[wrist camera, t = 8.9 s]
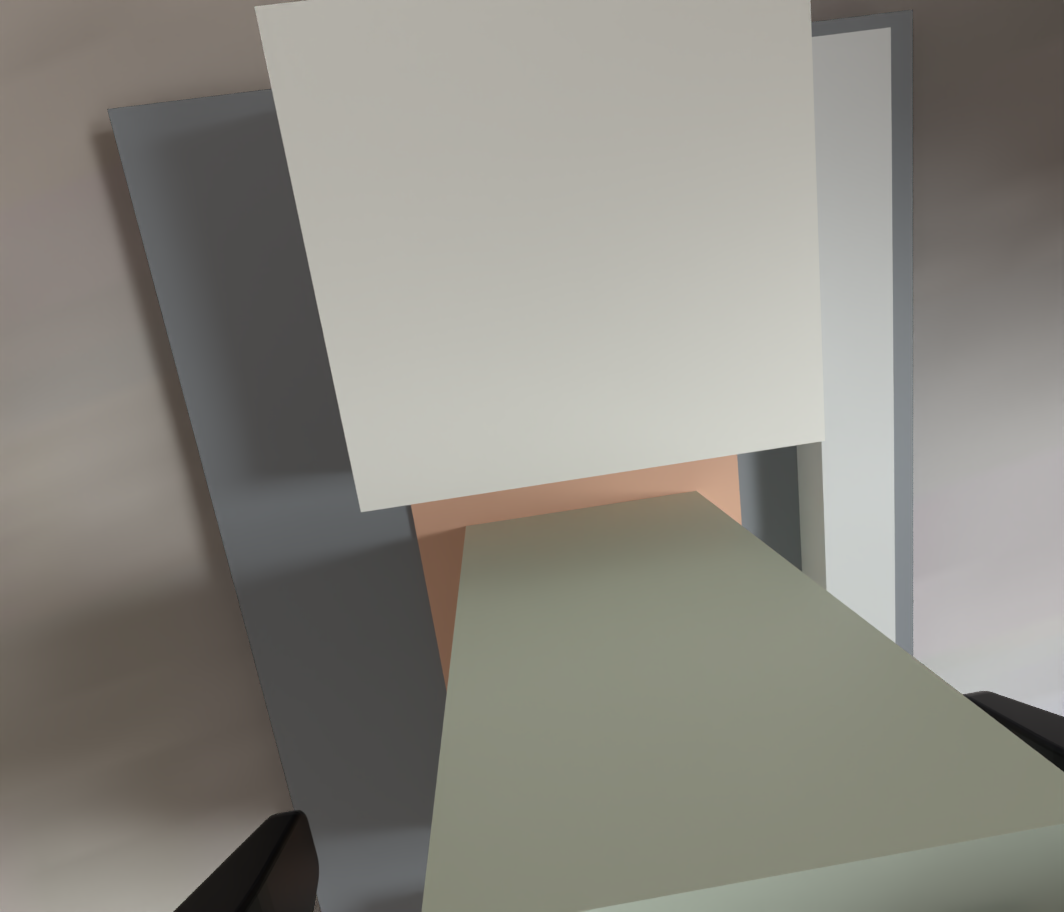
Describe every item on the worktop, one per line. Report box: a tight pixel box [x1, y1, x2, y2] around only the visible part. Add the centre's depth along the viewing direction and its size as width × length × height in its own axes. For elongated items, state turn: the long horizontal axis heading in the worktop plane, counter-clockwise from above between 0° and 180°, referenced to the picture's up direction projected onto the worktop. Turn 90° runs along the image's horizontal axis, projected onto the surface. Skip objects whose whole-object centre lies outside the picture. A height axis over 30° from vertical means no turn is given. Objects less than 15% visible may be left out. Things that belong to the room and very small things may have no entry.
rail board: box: [107, 0, 913, 912], centre depth 10 cm, size 12×20×3 cm, turn 8°
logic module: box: [422, 491, 1064, 912], centre depth 7 cm, size 4×6×7 cm, turn 8°
